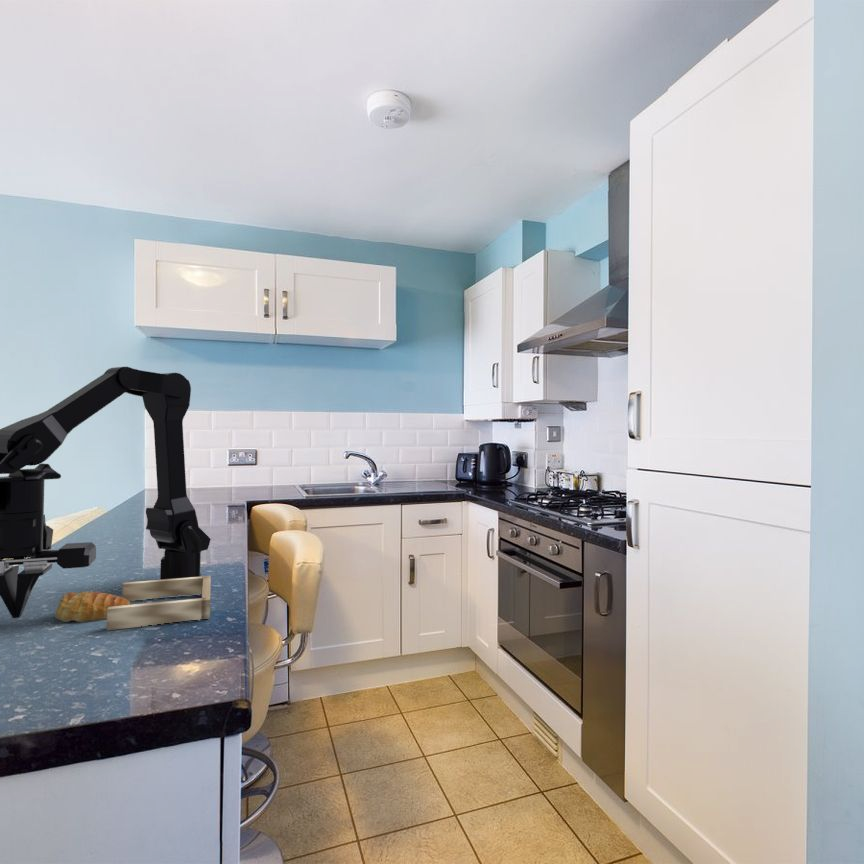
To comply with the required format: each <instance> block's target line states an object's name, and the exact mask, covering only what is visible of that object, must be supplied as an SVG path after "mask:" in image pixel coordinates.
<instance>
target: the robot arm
mask: <svg viewBox="0 0 864 864" xmlns="http://www.w3.org/2000/svg"><path fill="white" fill-rule="evenodd" d="M191 392H192V387H191V383H190V381H189V379H187V378H186V377H185V376H184V375H183V374H181V373H179V372H166V373H160V372H154V371H146V370H140V369H137V368H136V369H135V368H132V367H130V366H117V367H111V368H108V369H107V370H105V372H104V373H103V374H101V375H99V376H98V377H96V378H95V379H93V380H92V381H90V382H89V383H87V384H85V386H83V387H81V388H80V389H78V390H76V391H75V392H73V393H72V394H71V395H69V396H67V397H66V398H65V399H63V400H61V401H59V402H58V403H57V404H55V405H54V406H52V407H50V408H49V409H48V410H45V411H43V412H41V413H38V414H36V415H33V416H30V417H27V418H24V419H21V420H18V421H16V422H14V423H11V424H9V425H7V426H4V427H3V428H0V475H5V474H6V475H7V476H6V475H5V476H0V598H1V600H2V602H3V603H4V605H5V607H6V608H7V611H8V612H9V615H10V616H11V618H12V619H19V618H21V617H22V615H23V613H24V611H25V608H26V606H27V604H28V601H29V598H30V596H31V593H32V591H33V589H34V587H35V585H36V583H37V581H38V580H39V578H40V577H41V576H43V575H45V574H46V573H47V572H49V571H50V570H51V569H52V568H53V563H56V564H57V565H58V566H59V567H61V569H64V570H65V569H74V568H86V567H89V566H91V565H92V563H93V562H94V561H95V560H96V559H97V547H96V544H94V543H93V542H92V541H90V542H72V543H71V542H69V543H65V544H64V545H62V546H61V547H60V548H58V549H52V544H53V536H54V535H53V534H54V529H53V528H52V527H50V526H49V525H47V523H46V514H45V512H44V511H45V481H46V480H59V479H61V477H62V475H61V473H59V472H57V471H56V470H55V469H53V468H52V467H51V465H50V464H49V463H44V462H45V461H47V460H48V459H49V458H51V456H52V455H53V454H54V453H55V452H56V451H57V450H58V449H59V448H60V447H61V446H62V445H63V443H64V441H65V440H66V438H67V437H68V435H69V434H70V433H71V432H72V431H73V430H74V429H75V428H77V427H78V426H80V425H81V424H82V423H84V422H85V421H86V420H88V419H90V418H91V417H93V416H94V415H95V414H96V413H98V412H99V411H102V409H103V408H105V407H107V406H108V405H109V404H110V403H112V402H114V401H115V400H117V399H118V398H119V397H121V396H122V395H124V394H125V393H126V394H128V395H133V396H136V397H137V396H138V397H142V400H143V405H144V408H145V410H146V412H147V414H148V415H149V417H150V418H151V420H152V423H153V434H154V435H153V436H154V437H153V438H154V451H155V452H154V453H155V467H156V468H155V470H156V486H157V499H156V500H155V503H154V505H153V507H146V509H145V514H146V520H147V522H146V527H145V529H146V530H149V534H150V537H151V538H152V539H154V540H155V542H156V545H157V548H158V549H159V550H164V551H163V552H164V553H163V554H164V555H163V556H162V557H161V559H160V574H159V575H160V577H159V580H163V579H176V578H189V577H202V573H201V565H202V563H201V562H202V561H201V558H202V552H203V551H207V550H208V549H209V546H210V543H211V538H210V537H209V535H208V534H206V533H205V532H204V531H203V529H202V528H201V527H200V526H199V521H198V516H197V511H196V509H195V507H194V505H193V504H192V502H191V500H190V499H189V497H188V494H187V479H186V461H185V459H186V458H185V443H184V427H183V426H184V425H183V424H184V423H183V422H184V421H183V420H184V418H185V416H186V414H187V412H188V410H189V407H190V403H191V394H192V393H191ZM26 466H31V467H32V466H36V467H35V468H24V467H26ZM21 565H23V566H22V567H23V568H24V569H23V570H22V571H20V572H19V568H20V566H21Z"/></svg>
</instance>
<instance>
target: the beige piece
mask: <svg viewBox="0 0 864 864" xmlns="http://www.w3.org/2000/svg"><path fill="white" fill-rule="evenodd" d="M211 577H212V576H211V575H205V576H204V575H203V576H202V575H201V577H189V578H176V579H163V580H160V579H154V580H153V579H152V580H141V581H140V580H139V581H137V580H136V581H127V582H126V581H125V582H124V581H123V583H122V590H121V591H122V593H121V594H122V595H121V597H123V598H125V599H126V600H128V601H132V602H136V601H135V600H143V601H146V600H145V599H152V598H160V597H169V596H178V595H193V594H202V595H201V598H199V597H198V598H192V599H191V598H190V599H180V600H167V601H158V602H157V601H156V602H148V603H147V602H145V603H136V604H135V603H133V604H130V605H123V606H112V607H108V609H107V619H106V631H113V630H120V629H121V630H122V629H130V628H141V626H142V627H149V626H148V625H152V626H158V625H157V624H161V625H165V624H164V623H170V624H173V623H172V622H178V621H188V620H198V621H201V620H200V619H208V620H210V619H211V617H210V616H211V582H212V581H211V579H212V578H211Z"/></svg>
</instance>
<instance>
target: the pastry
mask: <svg viewBox="0 0 864 864" xmlns="http://www.w3.org/2000/svg"><path fill="white" fill-rule="evenodd" d="M123 605H131V602H130V601H128V600H126V599H125V598H123V597H122V596H119V595H114V594H110V593H107V592H100V591H97V590H94V591H91V592H90V591H82V592H80V593H79V592H78V593H76V592H69V591H68V592H66V593H65V594H63V595H62V598H61V599H60V600H59V603H58V605H57V607H56V610H55V615H54V616H55V617H54V618H56V619H57V620H59V621H60V622H63V623H70V621H75V622H77V623H80V622H81V623H85V622H88V621H92V622H93V621H103V620H107V609H108V607H112V606H123ZM102 619H103V620H102Z"/></svg>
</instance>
